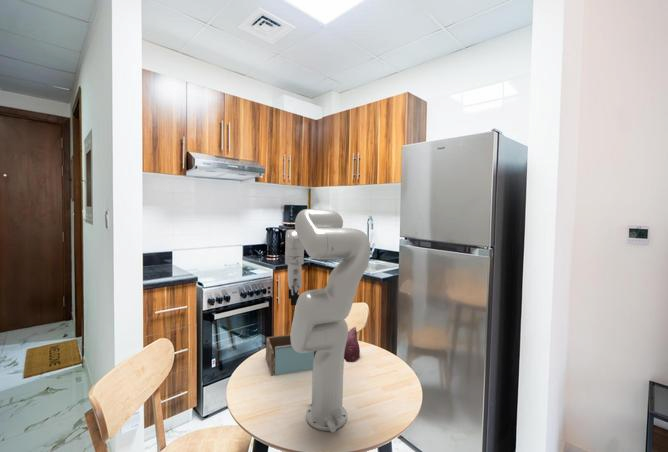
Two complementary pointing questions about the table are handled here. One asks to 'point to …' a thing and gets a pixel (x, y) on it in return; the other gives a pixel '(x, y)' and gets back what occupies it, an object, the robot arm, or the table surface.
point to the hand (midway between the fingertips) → (293, 301)
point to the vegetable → (352, 347)
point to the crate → (270, 349)
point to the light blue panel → (292, 360)
